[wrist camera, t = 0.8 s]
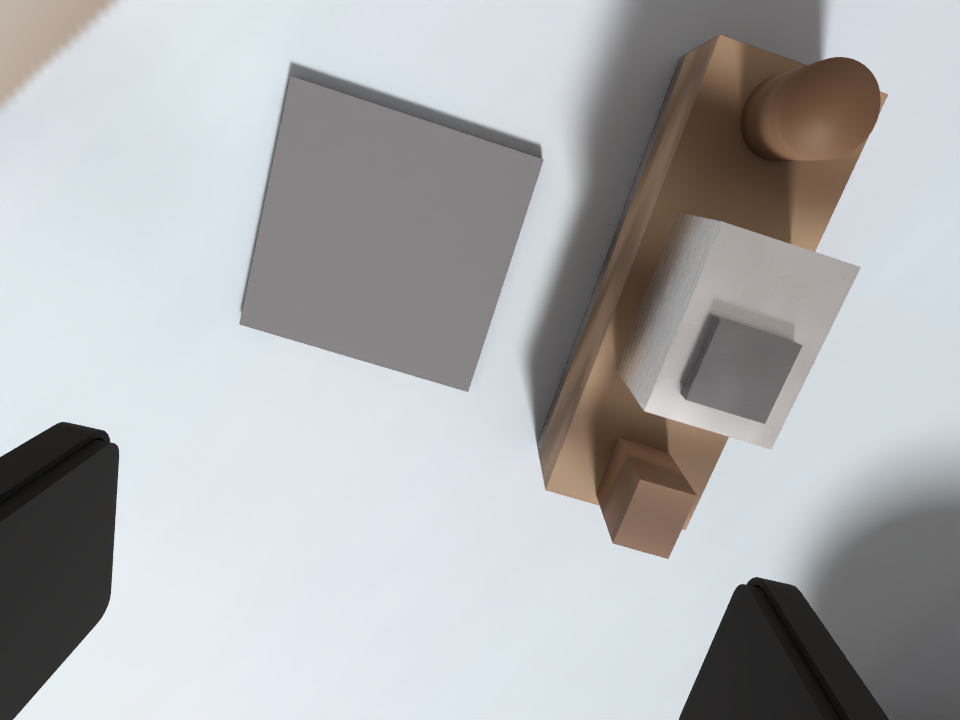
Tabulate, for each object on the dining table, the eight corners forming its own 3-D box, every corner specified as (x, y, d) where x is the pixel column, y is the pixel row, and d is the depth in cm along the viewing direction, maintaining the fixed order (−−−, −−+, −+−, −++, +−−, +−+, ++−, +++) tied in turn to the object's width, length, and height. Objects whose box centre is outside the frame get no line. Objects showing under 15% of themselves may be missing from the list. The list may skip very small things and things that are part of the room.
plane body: (657, 480, 34) (715, 583, 26) (536, 444, 34) (555, 538, 25) (821, 107, 29) (964, 79, 20) (679, 57, 28) (766, 7, 20)
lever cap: (721, 401, 28) (778, 456, 22) (615, 369, 27) (648, 417, 22) (790, 249, 26) (871, 269, 20) (677, 212, 25) (729, 222, 20)
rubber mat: (468, 388, 33) (468, 391, 32) (243, 321, 32) (239, 324, 31) (542, 159, 30) (543, 159, 29) (294, 77, 29) (290, 75, 28)
